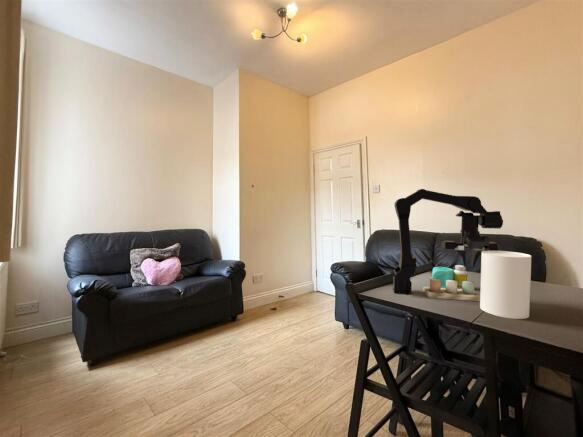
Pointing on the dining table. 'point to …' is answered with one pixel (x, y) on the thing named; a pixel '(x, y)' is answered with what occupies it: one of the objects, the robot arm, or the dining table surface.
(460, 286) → the supplement bottle
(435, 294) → the three-slot wooden rack
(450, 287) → the button cream
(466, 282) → the button sage
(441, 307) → the dining table surface
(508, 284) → the canister
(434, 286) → the button terracotta
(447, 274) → the turquoise rounded piece
